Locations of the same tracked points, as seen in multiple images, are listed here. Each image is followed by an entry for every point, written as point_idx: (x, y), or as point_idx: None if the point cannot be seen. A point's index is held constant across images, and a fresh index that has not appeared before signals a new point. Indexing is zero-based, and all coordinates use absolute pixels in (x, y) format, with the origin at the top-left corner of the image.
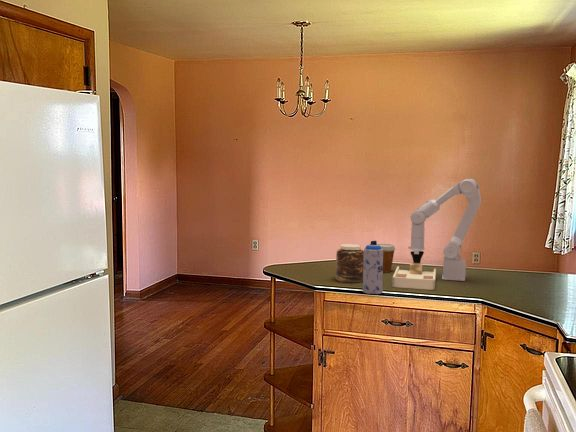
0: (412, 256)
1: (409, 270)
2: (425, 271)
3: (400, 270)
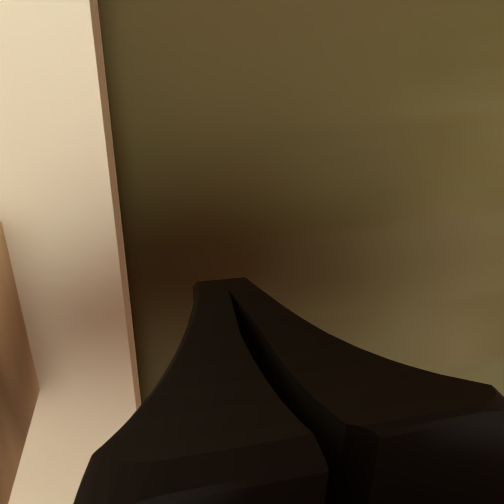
0: (135, 422)
1: (102, 196)
2: (127, 416)
3: (14, 11)
